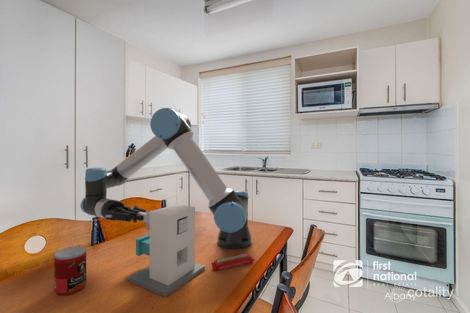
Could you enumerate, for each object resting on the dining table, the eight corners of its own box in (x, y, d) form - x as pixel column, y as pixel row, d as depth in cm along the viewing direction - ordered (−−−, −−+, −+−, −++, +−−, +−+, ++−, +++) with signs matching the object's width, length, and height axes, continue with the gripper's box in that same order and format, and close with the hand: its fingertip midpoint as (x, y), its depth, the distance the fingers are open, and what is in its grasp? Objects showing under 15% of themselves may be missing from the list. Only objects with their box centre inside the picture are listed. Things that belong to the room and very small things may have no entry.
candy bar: (214, 273, 80) (214, 264, 80) (210, 268, 83) (210, 259, 83) (255, 263, 87) (255, 255, 87) (250, 259, 90) (250, 251, 90)
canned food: (71, 297, 65) (70, 258, 65) (47, 294, 67) (46, 255, 67) (92, 282, 73) (92, 247, 73) (71, 279, 75) (70, 244, 74)
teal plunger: (135, 255, 82) (135, 238, 81) (149, 249, 87) (149, 233, 86) (164, 265, 75) (164, 247, 75) (176, 258, 80) (177, 241, 80)
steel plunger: (146, 229, 79) (146, 212, 78) (159, 224, 84) (159, 208, 83) (177, 237, 72) (177, 218, 72) (189, 231, 77) (189, 214, 77)
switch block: (128, 280, 74) (128, 211, 73) (170, 258, 90) (170, 200, 89) (165, 297, 66) (165, 219, 65) (204, 269, 82) (205, 206, 81)
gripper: (125, 214, 98) (166, 224, 87) (93, 223, 87) (135, 235, 75) (125, 196, 98) (166, 204, 86) (93, 203, 87) (135, 212, 75)
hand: (151, 218), depth 81 cm, fingers closed
